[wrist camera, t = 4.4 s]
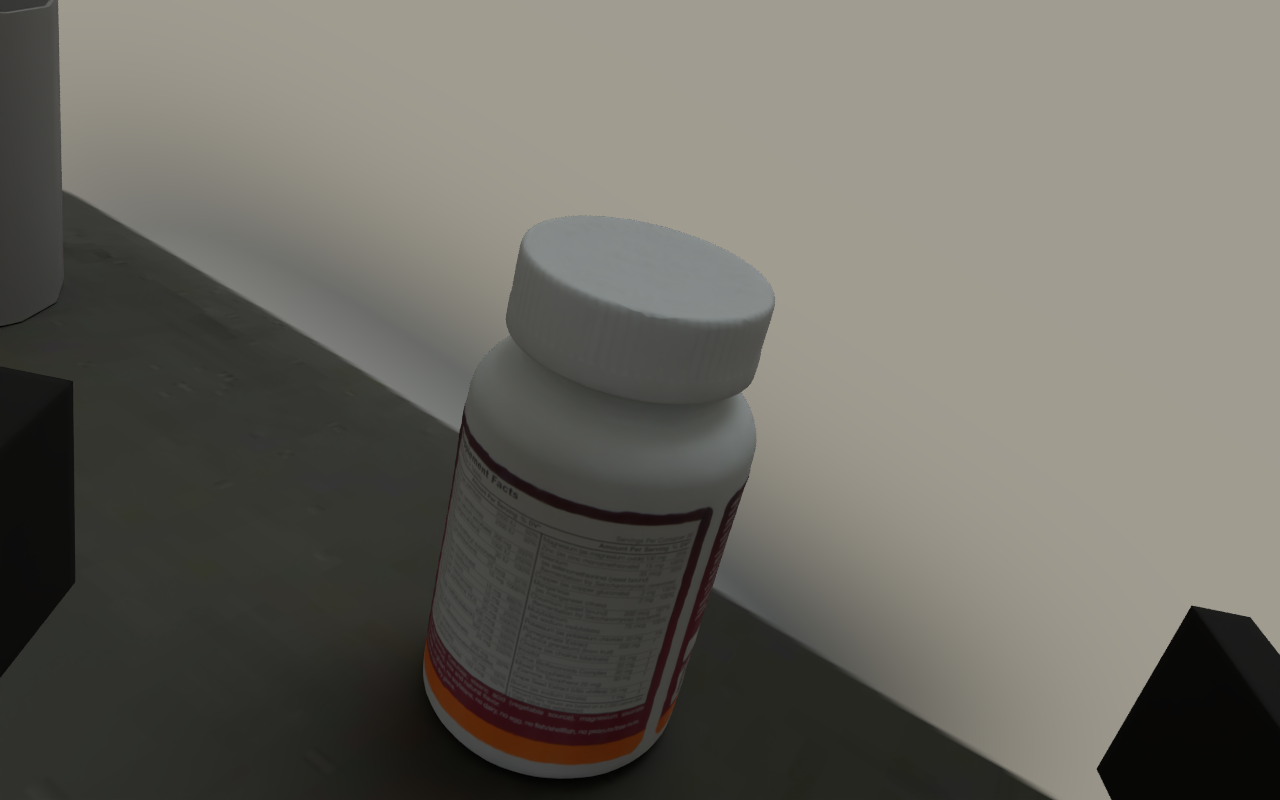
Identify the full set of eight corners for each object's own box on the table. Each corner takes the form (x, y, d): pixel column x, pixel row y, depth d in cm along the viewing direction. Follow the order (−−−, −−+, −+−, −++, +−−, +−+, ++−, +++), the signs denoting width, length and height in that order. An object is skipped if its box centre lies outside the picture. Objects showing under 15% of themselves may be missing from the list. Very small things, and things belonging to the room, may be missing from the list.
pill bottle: (555, 581, 30) (646, 195, 25) (719, 718, 27) (862, 305, 22) (366, 662, 26) (428, 214, 21) (532, 839, 22) (657, 356, 17)
